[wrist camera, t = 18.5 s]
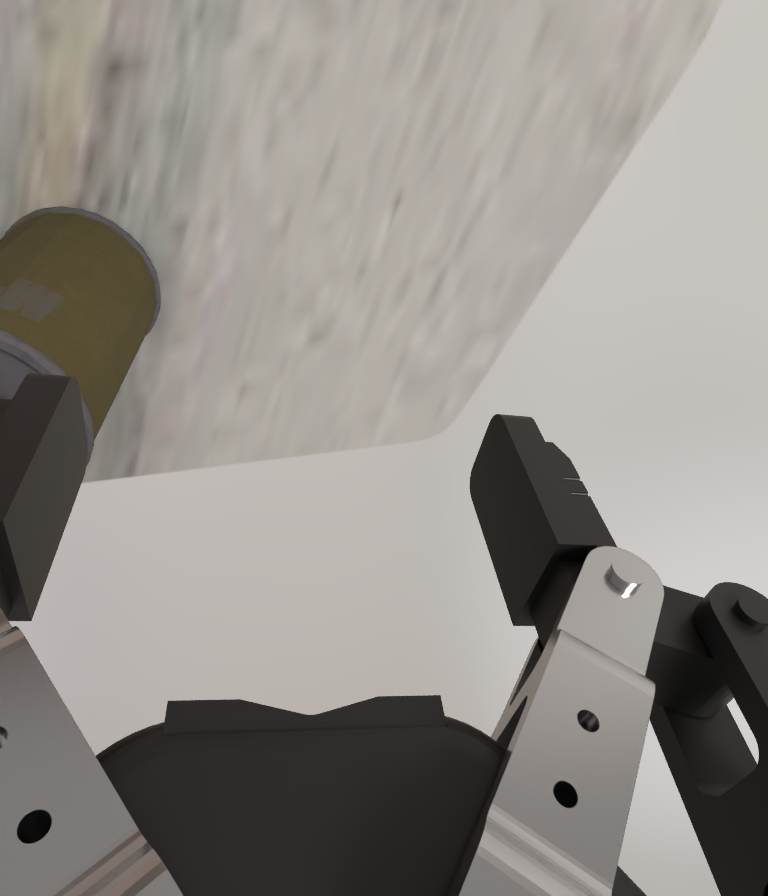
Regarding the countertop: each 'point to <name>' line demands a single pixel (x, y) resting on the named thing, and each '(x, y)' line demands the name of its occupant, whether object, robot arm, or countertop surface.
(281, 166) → the countertop surface
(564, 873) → the robot arm
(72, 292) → the canister
